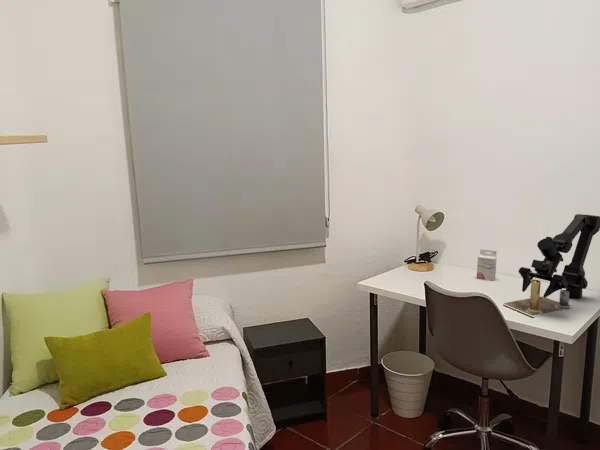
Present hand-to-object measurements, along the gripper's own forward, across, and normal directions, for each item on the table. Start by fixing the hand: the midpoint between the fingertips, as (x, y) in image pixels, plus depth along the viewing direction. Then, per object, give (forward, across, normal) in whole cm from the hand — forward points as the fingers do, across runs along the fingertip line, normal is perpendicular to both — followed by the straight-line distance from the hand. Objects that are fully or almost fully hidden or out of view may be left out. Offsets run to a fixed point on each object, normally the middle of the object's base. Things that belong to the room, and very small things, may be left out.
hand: (533, 294), depth 199 cm
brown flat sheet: (0, -3, +13) cm, 13 cm away
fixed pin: (-6, +4, +17) cm, 18 cm away
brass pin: (+4, 0, +6) cm, 8 cm away
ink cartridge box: (-15, -44, +28) cm, 54 cm away
